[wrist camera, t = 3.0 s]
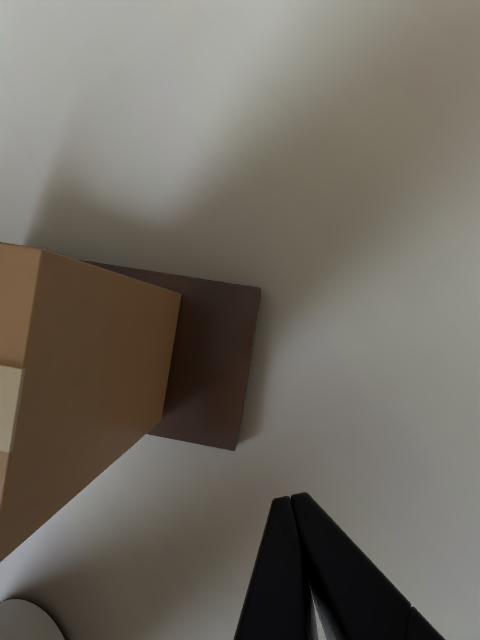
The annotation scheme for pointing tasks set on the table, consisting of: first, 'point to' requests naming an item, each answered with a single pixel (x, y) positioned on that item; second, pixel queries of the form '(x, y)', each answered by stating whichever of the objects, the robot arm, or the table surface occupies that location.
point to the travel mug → (26, 622)
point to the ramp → (205, 357)
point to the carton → (72, 378)
